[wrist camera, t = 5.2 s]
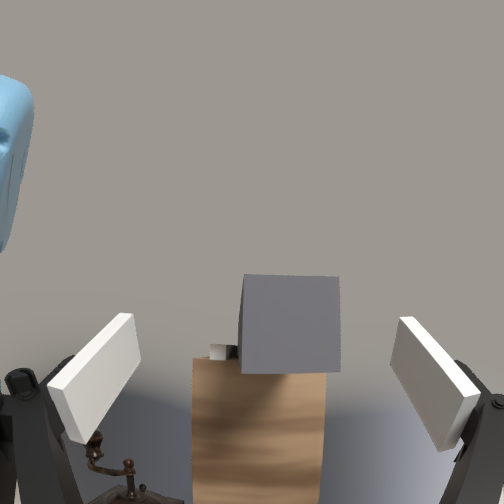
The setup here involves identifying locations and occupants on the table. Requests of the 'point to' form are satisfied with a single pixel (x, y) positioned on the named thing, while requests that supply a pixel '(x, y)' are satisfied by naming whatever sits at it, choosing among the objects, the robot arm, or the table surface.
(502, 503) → the table surface
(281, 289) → the grey long bar
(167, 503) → the coffee grinder
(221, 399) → the wooden block tower
